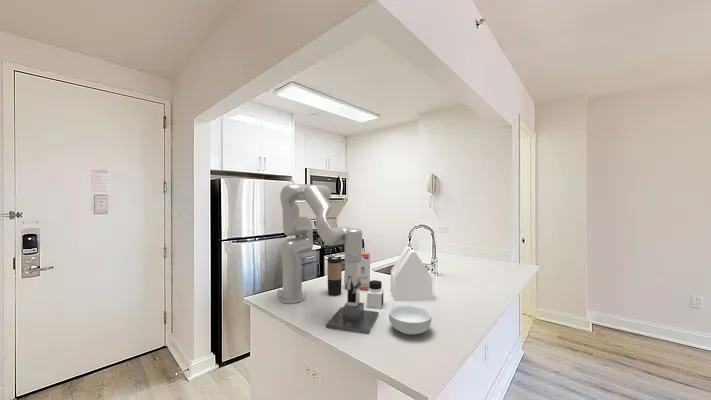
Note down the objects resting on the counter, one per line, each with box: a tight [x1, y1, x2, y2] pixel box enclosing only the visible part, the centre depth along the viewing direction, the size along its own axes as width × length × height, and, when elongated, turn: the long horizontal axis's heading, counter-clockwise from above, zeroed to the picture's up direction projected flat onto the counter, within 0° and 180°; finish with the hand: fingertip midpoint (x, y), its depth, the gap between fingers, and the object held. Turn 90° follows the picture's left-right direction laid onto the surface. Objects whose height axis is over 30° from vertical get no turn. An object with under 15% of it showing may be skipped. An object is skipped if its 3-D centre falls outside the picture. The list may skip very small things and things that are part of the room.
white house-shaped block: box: [390, 246, 433, 302], centre depth 152 cm, size 19×15×25 cm
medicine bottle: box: [366, 279, 384, 309], centre depth 138 cm, size 7×7×12 cm
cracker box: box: [344, 251, 371, 291], centre depth 163 cm, size 14×6×21 cm, turn 81°
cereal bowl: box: [388, 304, 432, 336], centre depth 112 cm, size 17×17×7 cm
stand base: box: [325, 302, 380, 335], centre depth 120 cm, size 18×18×7 cm
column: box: [346, 282, 361, 308], centre depth 120 cm, size 5×5×14 cm
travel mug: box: [327, 255, 343, 297], centre depth 154 cm, size 8×8×20 cm
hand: (353, 299), depth 120 cm, fingers closed on column, 4 cm apart
